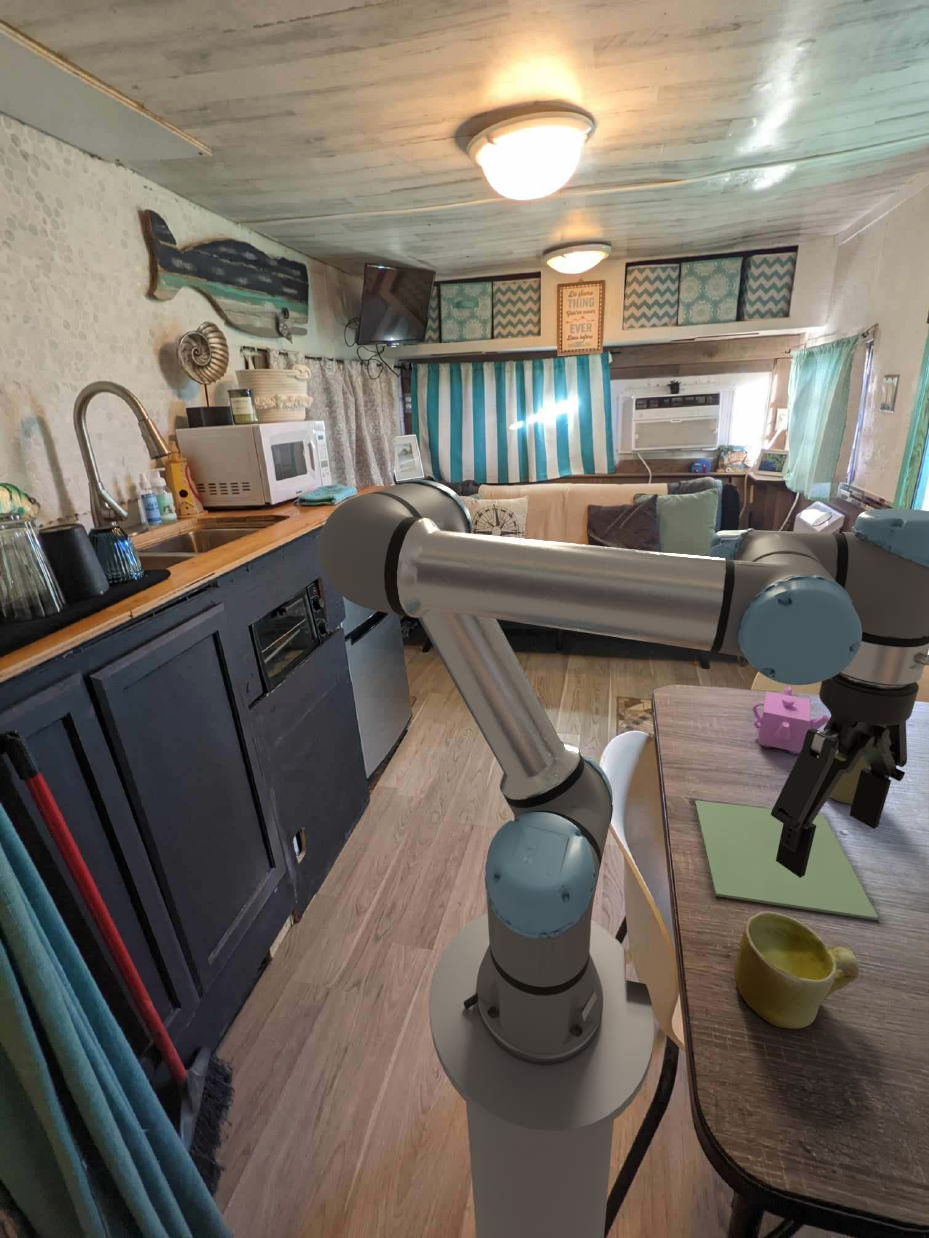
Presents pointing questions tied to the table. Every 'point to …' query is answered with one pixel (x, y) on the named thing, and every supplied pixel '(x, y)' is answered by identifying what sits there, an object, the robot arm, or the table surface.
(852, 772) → the squeeze bottle
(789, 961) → the mug
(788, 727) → the teapot
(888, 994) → the table surface
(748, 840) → the mat
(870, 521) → the robot arm
